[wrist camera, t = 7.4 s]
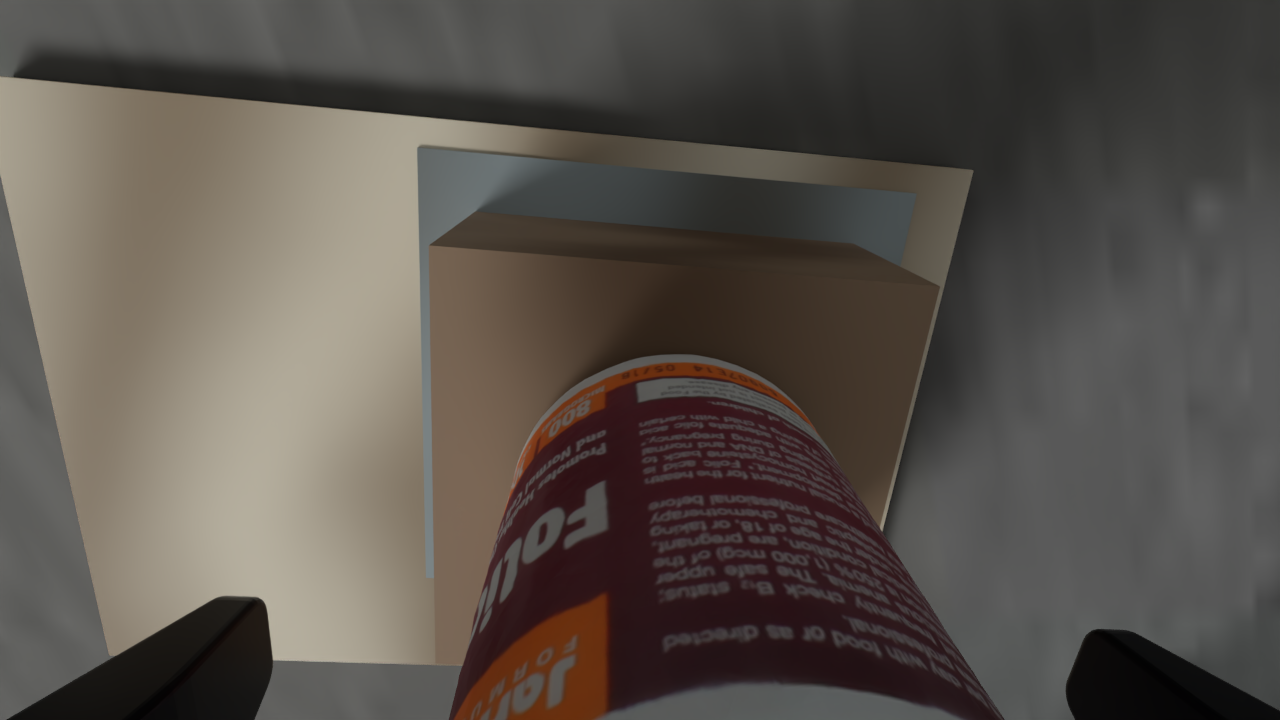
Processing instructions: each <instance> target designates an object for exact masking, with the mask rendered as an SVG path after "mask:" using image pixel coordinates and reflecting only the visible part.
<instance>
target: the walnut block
mask: <svg viewBox="0 0 1280 720" xmlns="http://www.w3.org/2000/svg"><path fill="white" fill-rule="evenodd" d="M939 289H940V286H938V285H936V284H934V283H932V282H930V281H928V280H926V279H924V278H922V277H920V276H918V275H916V274H914V273H912V272H910V271H908V270H906V269H904V268H902V267H900V266H898V265H896V264H894V263H892V262H890V261H888V260H886V259H884V258H882V257H880V256H878V255H876V254H874V253H872V252H870V251H868V250H865V249H863V248H861V247H859V246H857V245H855V244H853V243H842V242H830V241H818V240H806V239H795V238H783V237H771V236H759V235H747V234H736V233H724V232H712V231H700V230H688V229H677V228H665V227H653V226H641V225H629V224H618V223H606V222H594V221H582V220H570V219H559V218H547V217H535V216H523V215H511V214H500V213H488V212H476V211H475V212H474V213H473V214H471V215H470V216H468V217H467V218H466V219H464V220H463V221H462V222H460V223H459V224H457V225H456V226H455V227H453V228H452V229H451V230H449V231H448V232H446V233H445V234H444V235H442V236H441V237H440V238H438V239H437V240H435V241H434V242H433V243H431V244H430V245H429V295H430V357H431V419H432V481H433V543H434V606H435V664H461V665H463V663H464V660H465V657H466V653H467V649H468V645H469V641H470V637H471V632H472V626H473V620H474V615H475V612H476V609H477V606H478V603H479V600H480V597H481V593H482V589H483V586H484V582H485V579H486V576H487V572H488V567H489V562H490V559H491V555H492V552H493V548H494V545H495V541H496V538H497V534H498V530H499V527H500V523H501V521H502V518H503V515H504V512H505V508H506V504H507V501H508V497H509V494H510V490H511V486H512V483H513V479H514V475H515V471H516V467H517V463H518V460H519V458H520V455H521V452H522V450H523V448H524V446H525V444H526V442H527V440H528V438H529V436H530V434H531V432H532V431H533V429H534V427H535V426H536V424H537V423H538V421H539V420H540V418H541V417H542V416H543V415H544V414H545V413H546V412H547V410H548V409H549V408H550V407H551V406H552V405H553V404H554V403H555V402H556V401H557V400H558V399H559V398H560V397H562V396H563V395H564V394H565V393H566V392H567V391H569V390H570V389H571V388H572V387H574V386H576V385H577V384H579V383H580V382H582V381H583V380H585V379H587V378H589V377H591V376H593V375H595V374H597V373H599V372H601V371H603V370H605V369H607V368H610V367H613V366H615V365H618V364H621V363H623V362H626V361H629V360H633V359H636V358H641V357H648V356H655V355H672V354H686V355H699V356H704V357H709V358H714V359H718V360H721V361H724V362H728V363H731V364H734V365H737V366H740V367H742V368H744V369H746V370H749V371H751V372H753V373H755V374H757V375H759V376H761V377H762V378H764V379H766V380H767V381H769V382H771V383H772V384H774V385H775V386H776V387H778V388H779V389H780V390H781V391H782V392H784V393H785V394H786V395H787V396H788V397H789V398H790V399H791V400H792V401H793V402H794V403H795V404H796V405H797V406H798V407H799V408H800V409H801V410H802V411H803V413H804V414H805V415H806V416H807V418H808V419H809V420H810V422H811V423H812V425H813V426H814V428H815V429H816V431H817V433H818V434H819V435H820V437H821V438H822V440H823V441H824V443H825V444H826V445H827V446H828V448H829V450H830V451H831V453H832V455H833V456H834V458H835V459H836V461H837V462H838V464H839V466H840V467H841V469H842V470H843V472H844V474H845V475H846V477H847V478H848V480H849V482H850V483H851V485H852V486H853V488H854V490H855V491H856V493H857V494H858V496H859V497H860V499H861V501H862V502H863V504H864V505H865V507H866V508H867V510H868V511H869V513H870V514H871V516H872V517H873V519H874V520H875V522H876V523H877V525H878V526H879V527H880V525H881V521H882V517H883V513H884V509H885V505H886V501H887V497H888V493H889V489H890V485H891V481H892V477H893V473H894V469H895V465H896V461H897V457H898V453H899V449H900V445H901V441H902V437H903V433H904V429H905V425H906V421H907V417H908V413H909V409H910V405H911V401H912V397H913V393H914V389H915V385H916V381H917V377H918V373H919V369H920V365H921V361H922V357H923V353H924V349H925V345H926V341H927V337H928V333H929V329H930V325H931V321H932V317H933V313H934V309H935V305H936V301H937V297H938V293H939Z"/></svg>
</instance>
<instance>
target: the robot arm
mask: <svg viewBox="0 0 1280 720" xmlns="http://www.w3.org/2000/svg"><path fill="white" fill-rule="evenodd" d="M272 668H273V655H272V646H271V638H270V629H269V621H268V613H267V608H266V604H265V603H264V601H263V600H262V599H260V598H258V597H251V596H220V597H217V598H215V599H213V600H211V601H209V602H207V603H206V604H204V605H202V606H200V607H199V608H197V609H195V610H194V611H192V612H190V613H188V614H187V615H185V616H183V617H182V618H180V619H178V620H176V621H175V622H173V623H171V624H170V625H168V626H166V627H164V628H163V629H161V630H159V631H158V632H156V633H154V634H152V635H151V636H149V637H147V638H146V639H144V640H142V641H140V642H139V643H137V644H135V645H134V646H132V647H130V648H128V649H127V650H125V651H123V652H122V653H120V654H118V655H116V656H115V657H113V658H111V659H110V660H108V661H106V662H104V663H103V664H101V665H99V666H98V667H96V668H94V669H92V670H91V671H89V672H87V673H86V674H84V675H82V676H80V677H79V678H77V679H75V680H74V681H72V682H70V683H68V684H67V685H65V686H63V687H62V688H60V689H58V690H56V691H55V692H53V693H51V694H50V695H48V696H46V697H44V698H43V699H41V700H39V701H38V702H36V703H34V704H32V705H31V706H29V707H27V708H26V709H24V710H22V711H21V712H19V713H17V714H15V715H14V716H12V717H10V718H9V719H7V720H254V719H255V717H256V714H257V712H258V709H259V707H260V704H261V702H262V700H263V697H264V695H265V692H266V690H267V687H268V684H269V682H270V678H271V674H272ZM1066 698H1067V702H1068V705H1069V708H1070V710H1071V712H1072V714H1073V716H1074V718H1075V720H1280V711H1279V710H1277V709H1275V708H1274V707H1272V706H1270V705H1268V704H1266V703H1264V702H1262V701H1261V700H1259V699H1257V698H1255V697H1253V696H1251V695H1249V694H1248V693H1246V692H1244V691H1242V690H1240V689H1238V688H1236V687H1235V686H1233V685H1231V684H1229V683H1227V682H1225V681H1223V680H1222V679H1220V678H1218V677H1216V676H1214V675H1212V674H1210V673H1209V672H1207V671H1205V670H1203V669H1201V668H1199V667H1197V666H1196V665H1194V664H1192V663H1190V662H1188V661H1186V660H1184V659H1183V658H1181V657H1179V656H1177V655H1175V654H1173V653H1171V652H1170V651H1168V650H1166V649H1164V648H1162V647H1160V646H1158V645H1157V644H1155V643H1153V642H1151V641H1149V640H1147V639H1145V638H1144V637H1142V636H1140V635H1138V634H1136V633H1134V632H1131V631H1127V630H1111V629H1096V630H1092V631H1091V632H1089V633H1088V634H1087V635H1086V636H1085V638H1084V640H1083V642H1082V645H1081V647H1080V650H1079V652H1078V655H1077V657H1076V660H1075V662H1074V665H1073V667H1072V670H1071V672H1070V675H1069V677H1068V680H1067V683H1066Z"/></svg>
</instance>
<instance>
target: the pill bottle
mask: <svg viewBox="0 0 1280 720" xmlns="http://www.w3.org/2000/svg"><path fill="white" fill-rule="evenodd" d="M449 720H1004V718H1003V717H1002V715H1001V714H1000V712H999V711H998V709H997V708H996V706H995V705H994V703H993V702H992V700H991V699H990V697H989V696H988V694H987V693H986V691H985V690H984V689H983V687H982V686H981V684H980V683H979V681H978V679H977V678H976V676H975V674H974V673H973V671H972V670H971V668H970V667H969V665H968V664H967V662H966V661H965V659H964V658H963V656H962V655H961V653H960V652H959V650H958V649H957V647H956V646H955V644H954V643H953V641H952V640H951V638H950V637H949V635H948V634H947V632H946V631H945V629H944V627H943V626H942V624H941V622H940V621H939V619H938V617H937V616H936V614H935V613H934V611H933V609H932V608H931V606H930V605H929V603H928V602H927V600H926V599H925V597H924V596H923V594H922V593H921V591H920V590H919V588H918V587H917V585H916V584H915V582H914V581H913V579H912V578H911V576H910V575H909V573H908V571H907V570H906V568H905V567H904V565H903V564H902V562H901V561H900V559H899V557H898V556H897V554H896V553H895V551H894V550H893V548H892V546H891V545H890V543H889V542H888V540H887V539H886V537H885V535H884V534H883V532H882V531H881V529H880V527H879V526H878V525H877V523H876V522H875V520H874V519H873V517H872V516H871V514H870V513H869V511H868V510H867V508H866V507H865V505H864V504H863V502H862V501H861V499H860V497H859V496H858V494H857V493H856V491H855V490H854V488H853V486H852V485H851V483H850V482H849V480H848V478H847V477H846V475H845V474H844V472H843V470H842V469H841V467H840V466H839V464H838V462H837V461H836V459H835V458H834V456H833V455H832V453H831V451H830V450H829V448H828V446H827V445H826V444H825V443H824V441H823V440H822V438H821V437H820V435H819V434H818V433H817V431H816V429H815V428H814V426H813V425H812V423H811V422H810V420H809V419H808V418H807V416H806V415H805V414H804V413H803V411H802V410H801V409H800V408H799V407H798V406H797V405H796V404H795V403H794V402H793V401H792V400H791V399H790V398H789V397H788V396H787V395H786V394H785V393H784V392H782V391H781V390H780V389H779V388H778V387H776V386H775V385H774V384H772V383H771V382H769V381H767V380H766V379H764V378H762V377H761V376H759V375H757V374H755V373H753V372H751V371H749V370H746V369H744V368H742V367H740V366H737V365H734V364H731V363H728V362H724V361H721V360H718V359H714V358H709V357H704V356H699V355H686V354H672V355H655V356H648V357H641V358H636V359H633V360H629V361H626V362H623V363H621V364H618V365H615V366H613V367H610V368H607V369H605V370H603V371H601V372H599V373H597V374H595V375H593V376H591V377H589V378H587V379H585V380H583V381H582V382H580V383H579V384H577V385H576V386H574V387H572V388H571V389H570V390H569V391H567V392H566V393H565V394H564V395H563V396H562V397H560V398H559V399H558V400H557V401H556V402H555V403H554V404H553V405H552V406H551V407H550V408H549V409H548V410H547V412H546V413H545V414H544V415H543V416H542V417H541V418H540V420H539V421H538V423H537V424H536V426H535V427H534V429H533V431H532V432H531V434H530V436H529V438H528V440H527V442H526V444H525V446H524V448H523V450H522V452H521V455H520V458H519V460H518V463H517V467H516V471H515V475H514V479H513V483H512V486H511V490H510V494H509V497H508V501H507V504H506V508H505V512H504V515H503V518H502V521H501V523H500V527H499V530H498V534H497V538H496V541H495V545H494V548H493V552H492V555H491V559H490V562H489V567H488V572H487V576H486V579H485V582H484V586H483V589H482V593H481V597H480V600H479V603H478V606H477V609H476V612H475V615H474V620H473V626H472V632H471V637H470V641H469V645H468V649H467V653H466V657H465V660H464V663H463V666H462V669H461V672H460V675H459V680H458V685H457V689H456V693H455V697H454V701H453V705H452V709H451V713H450V717H449Z"/></svg>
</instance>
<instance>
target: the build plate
mask: <svg viewBox="0 0 1280 720" xmlns="http://www.w3.org/2000/svg"><path fill="white" fill-rule="evenodd" d="M973 171H974V170H968V169H961V168H952V167H941V166H931V165H921V164H910V163H900V162H889V161H879V160H869V159H858V158H848V157H837V156H827V155H817V154H806V153H796V152H785V151H775V150H765V149H754V148H744V147H733V146H723V145H713V144H702V143H692V142H681V141H671V140H661V139H650V138H640V137H629V136H619V135H609V134H598V133H588V132H577V131H567V130H557V129H546V128H536V127H525V126H515V125H505V124H494V123H484V122H474V121H463V120H453V119H442V118H432V117H422V116H411V115H401V114H390V113H380V112H370V111H359V110H349V109H338V108H328V107H318V106H307V105H297V104H286V103H276V102H266V101H255V100H245V99H234V98H224V97H214V96H203V95H193V94H182V93H172V92H162V91H151V90H141V89H130V88H120V87H110V86H99V85H89V84H78V83H68V82H58V81H47V80H37V79H26V78H16V77H5V76H0V175H1V179H2V184H3V188H4V193H5V197H6V201H7V206H8V210H9V215H10V219H11V224H12V228H13V232H14V237H15V241H16V246H17V250H18V255H19V259H20V263H21V268H22V272H23V277H24V281H25V285H26V290H27V294H28V299H29V303H30V308H31V312H32V316H33V321H34V325H35V330H36V334H37V339H38V343H39V347H40V352H41V356H42V361H43V365H44V369H45V374H46V378H47V383H48V387H49V392H50V396H51V400H52V405H53V409H54V414H55V418H56V423H57V427H58V431H59V436H60V440H61V445H62V449H63V453H64V458H65V462H66V467H67V471H68V476H69V480H70V484H71V489H72V493H73V498H74V502H75V507H76V511H77V515H78V520H79V524H80V529H81V533H82V537H83V542H84V546H85V551H86V555H87V560H88V564H89V568H90V573H91V577H92V582H93V586H94V591H95V595H96V599H97V604H98V608H99V613H100V617H101V622H102V626H103V630H104V635H105V639H106V644H107V648H108V652H109V655H115V656H116V655H118V654H120V653H122V652H123V651H125V650H127V649H128V648H130V647H132V646H134V645H135V644H137V643H139V642H140V641H142V640H144V639H146V638H147V637H149V636H151V635H152V634H154V633H156V632H158V631H159V630H161V629H163V628H164V627H166V626H168V625H170V624H171V623H173V622H175V621H176V620H178V619H180V618H182V617H183V616H185V615H187V614H188V613H190V612H192V611H194V610H195V609H197V608H199V607H200V606H202V605H204V604H206V603H207V602H209V601H211V600H213V599H215V598H217V597H220V596H251V597H258V598H260V599H262V600H263V601H264V603H265V604H266V608H267V613H268V621H269V629H270V638H271V646H272V655H273V660H284V661H318V662H352V663H385V664H419V665H453V666H463V665H461V664H435V606H434V543H433V481H432V419H431V357H430V295H429V245H430V244H431V243H433V242H434V241H435V240H437V239H438V238H440V237H441V236H442V235H444V234H445V233H446V232H448V231H449V230H451V229H452V228H453V227H455V226H456V225H457V224H459V223H460V222H462V221H463V220H464V219H466V218H467V217H468V216H470V215H471V214H473V213H474V212H475V211H476V212H488V213H500V214H511V215H523V216H535V217H547V218H559V219H570V220H582V221H594V222H606V223H618V224H629V225H641V226H653V227H665V228H677V229H688V230H700V231H712V232H724V233H736V234H747V235H759V236H771V237H783V238H795V239H806V240H818V241H830V242H842V243H853V244H855V245H857V246H859V247H861V248H863V249H865V250H868V251H870V252H872V253H874V254H876V255H878V256H880V257H882V258H884V259H886V260H888V261H890V262H892V263H894V264H896V265H898V266H900V267H902V268H904V269H906V270H908V271H910V272H912V273H914V274H916V275H918V276H920V277H922V278H924V279H926V280H928V281H930V282H932V283H934V284H936V285H938V286H940V289H939V293H938V297H937V301H936V305H935V309H934V313H933V317H932V321H931V325H930V329H929V333H928V337H927V341H926V345H925V349H924V353H923V357H922V361H921V365H920V369H919V373H918V377H917V381H916V385H915V389H914V393H913V397H912V401H911V405H910V409H909V413H908V417H907V421H906V425H905V429H904V433H903V437H902V441H901V445H900V449H899V453H898V457H897V461H896V465H895V469H894V473H893V477H892V481H891V485H890V489H889V493H888V497H887V501H886V505H885V509H884V513H883V517H882V521H881V525H880V529H881V531H883V527H884V523H885V519H886V515H887V511H888V507H889V503H890V499H891V495H892V491H893V487H894V483H895V479H896V475H897V472H898V468H899V464H900V460H901V456H902V452H903V448H904V444H905V440H906V436H907V432H908V428H909V424H910V420H911V416H912V412H913V408H914V404H915V400H916V396H917V392H918V389H919V385H920V381H921V377H922V373H923V369H924V365H925V361H926V357H927V353H928V349H929V345H930V341H931V337H932V333H933V329H934V325H935V321H936V317H937V313H938V309H939V306H940V302H941V298H942V294H943V290H944V286H945V282H946V278H947V274H948V270H949V266H950V262H951V258H952V254H953V250H954V246H955V242H956V238H957V234H958V230H959V226H960V223H961V219H962V215H963V211H964V207H965V203H966V199H967V195H968V191H969V187H970V183H971V179H972V175H973Z"/></svg>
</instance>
